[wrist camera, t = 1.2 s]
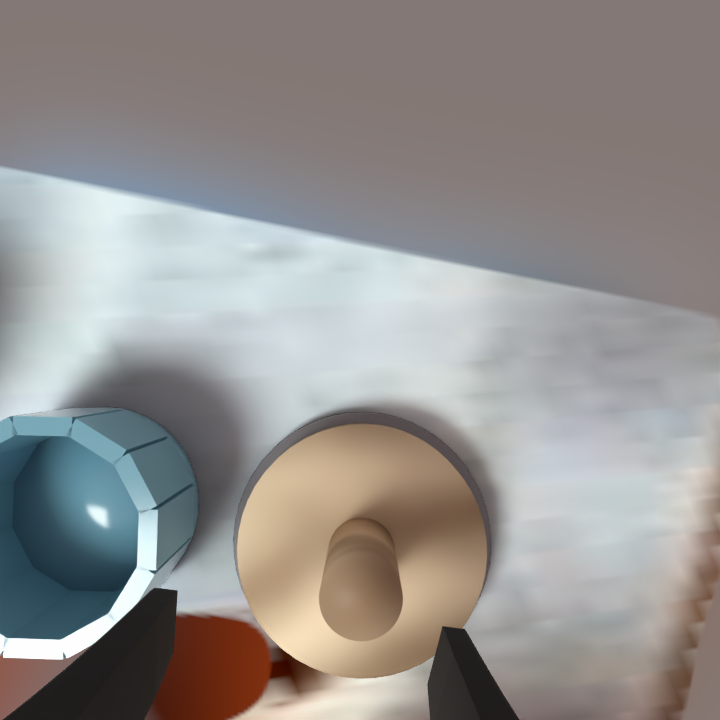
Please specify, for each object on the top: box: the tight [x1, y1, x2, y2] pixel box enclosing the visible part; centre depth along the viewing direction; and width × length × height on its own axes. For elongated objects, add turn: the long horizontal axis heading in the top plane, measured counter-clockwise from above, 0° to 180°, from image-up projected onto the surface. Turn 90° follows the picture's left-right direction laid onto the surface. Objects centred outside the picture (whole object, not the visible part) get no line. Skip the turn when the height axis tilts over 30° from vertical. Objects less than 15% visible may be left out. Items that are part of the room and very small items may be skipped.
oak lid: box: [237, 423, 487, 678], centre depth 18 cm, size 12×12×5 cm
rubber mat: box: [233, 412, 491, 599], centre depth 21 cm, size 13×13×1 cm
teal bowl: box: [0, 407, 199, 659], centre depth 19 cm, size 10×10×4 cm
